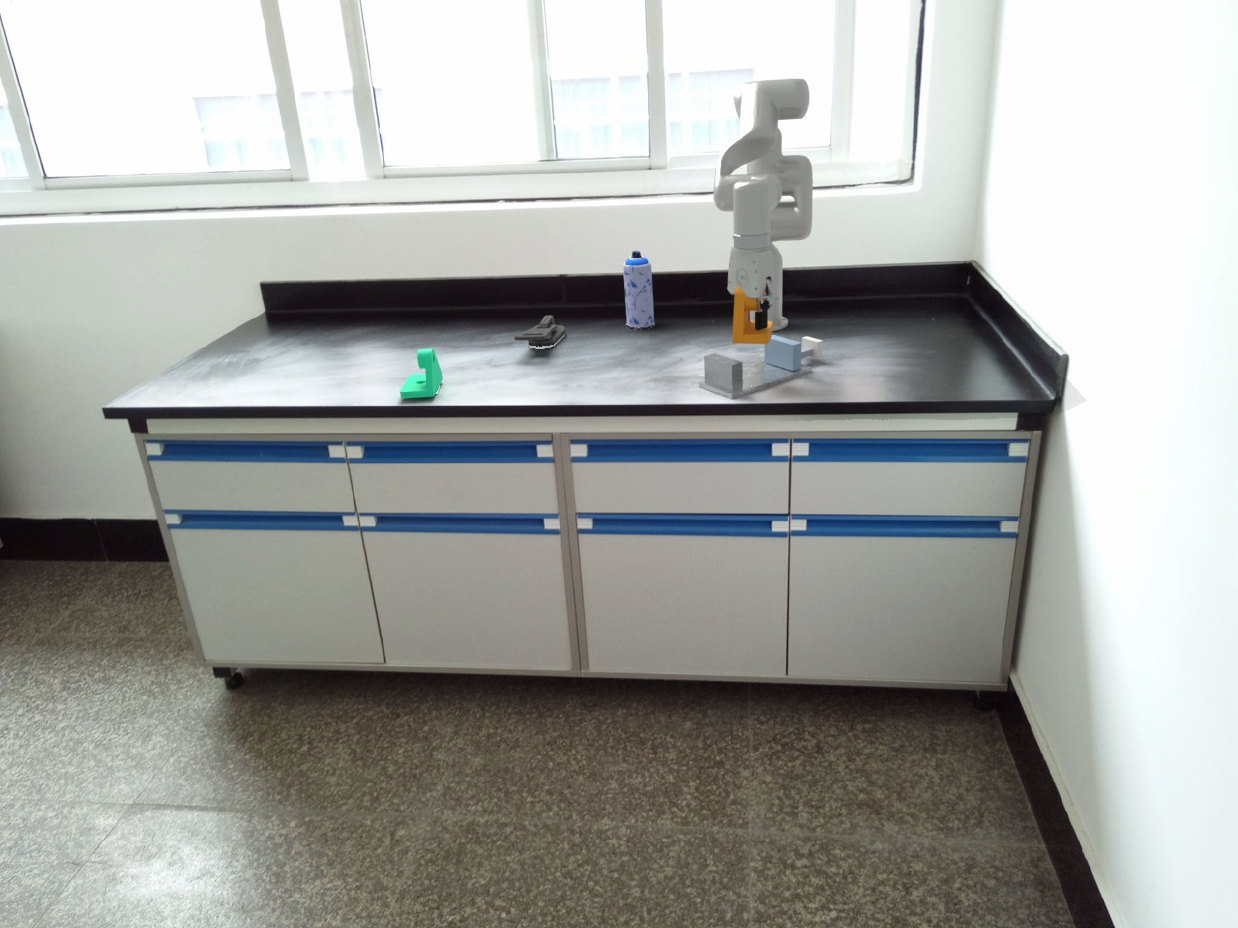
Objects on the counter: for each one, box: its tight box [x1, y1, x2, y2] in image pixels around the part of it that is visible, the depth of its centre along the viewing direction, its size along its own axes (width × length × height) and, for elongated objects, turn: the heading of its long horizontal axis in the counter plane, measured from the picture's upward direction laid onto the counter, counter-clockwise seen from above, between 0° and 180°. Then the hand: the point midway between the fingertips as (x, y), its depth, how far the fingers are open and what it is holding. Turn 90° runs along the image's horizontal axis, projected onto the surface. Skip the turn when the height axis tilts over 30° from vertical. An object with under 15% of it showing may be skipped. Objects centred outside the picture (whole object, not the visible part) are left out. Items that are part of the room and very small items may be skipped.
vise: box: [698, 352, 813, 399], centre depth 201 cm, size 11×24×7 cm, turn 125°
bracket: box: [732, 287, 774, 345], centre depth 195 cm, size 11×7×12 cm, turn 164°
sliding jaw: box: [764, 334, 824, 371], centre depth 207 cm, size 9×12×6 cm
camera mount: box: [399, 348, 444, 399], centre depth 207 cm, size 12×8×10 cm, turn 1°
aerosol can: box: [622, 250, 656, 328], centre depth 243 cm, size 8×8×20 cm
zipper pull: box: [514, 315, 566, 347], centre depth 234 cm, size 9×7×25 cm
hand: (752, 325), depth 197 cm, fingers closed on bracket, 4 cm apart
